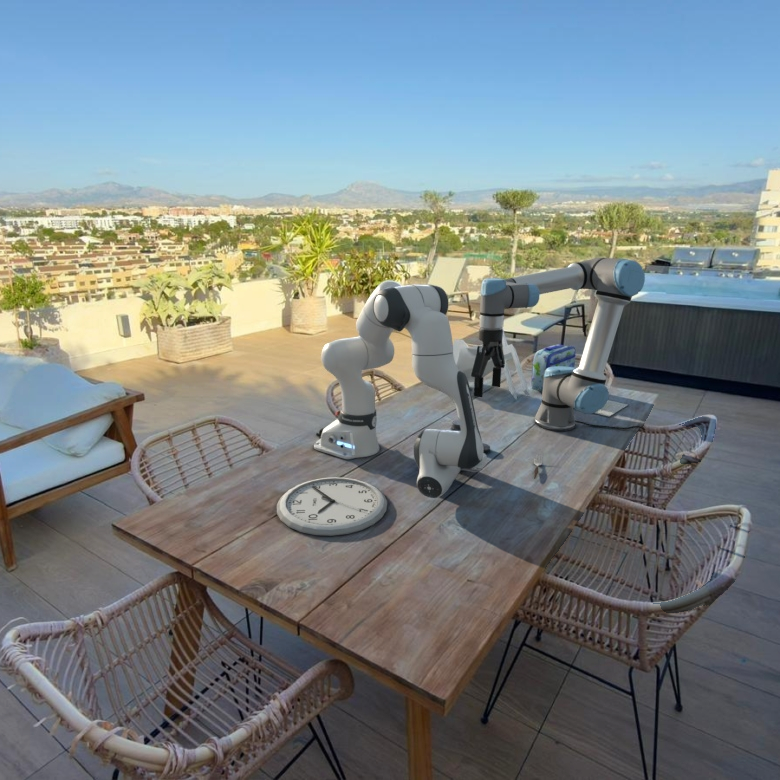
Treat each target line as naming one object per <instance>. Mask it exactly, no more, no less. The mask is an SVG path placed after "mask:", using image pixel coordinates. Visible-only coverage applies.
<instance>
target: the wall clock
mask: <svg viewBox="0 0 780 780" xmlns="http://www.w3.org/2000/svg"><path fill="white" fill-rule="evenodd" d="M387 509H388V500H387V498H386V496H385V494H384V493H383V492H382V491H381V490H380V489H379V488H377V487H376V486H374V485H372V484H371V483H369V482H365V481H362V480H359V479H355V478H349V477H338V476H337V477H335V476H333V477H332V476H331V477H322V478H317V479H312V480H307V481H305V482H302V483H299V484H297V485H295V486H293V487H292V488H290V489H288V490H287V491H286V492H285V493H284V494H283V495H281V496H280V498H279V499H278V502H277V503H276V515H277V517H278V518H279V520H280V521H281V522H282V523H283V524H285V525H286V526H287V527H288V528H290V529H293V530H295V531H297V532H299V533H303V534H308V535H312V536H327V537H328V536H329V537H331V536H332V537H333V536H342V535H350V534H352V533H356V532H361V531H363V530H366V529H368V528H369V527H372V526H373V525H375V524H376V523H378V522H379V521H380V520H381V519H382V518H383V517H384V516H385V514H386V512H387Z"/></svg>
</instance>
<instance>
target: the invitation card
mask: <svg viewBox="0 0 780 780" xmlns="http://www.w3.org/2000/svg"><path fill="white" fill-rule="evenodd" d="M628 406H629V404H627V403H623V402H618V401H614V400H609V399H608V400H607V402H606V404H605V405H604V407H603V408H602V409H600V410H598V411H597V412H595V413H594V414H596V415H600V416H604V417H608V418H609V417H611V416H613V415H614V414H616V413H617V412H619V411H621V410H623V409H624V408H626V407H628Z"/></svg>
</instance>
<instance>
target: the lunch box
mask: <svg viewBox="0 0 780 780" xmlns="http://www.w3.org/2000/svg"><path fill="white" fill-rule="evenodd" d="M576 357H577V355H576V347H575V346H569V345H565V344H554V345H550V346H547V347H544V348H542V349H541V348H540V349H539V350H537V351H536V352H535V353H534V356H533V360H532V367H531V368H532V369H531V382H530V383H531V386H530V387H531V389H532V390H533V391H537V392H542V391H543V381H544V374H545V370H546V369H547V368H549V367H556V366H565V367H574V368H575V364H576Z"/></svg>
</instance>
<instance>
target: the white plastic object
mask: <svg viewBox="0 0 780 780" xmlns="http://www.w3.org/2000/svg"><path fill="white" fill-rule="evenodd" d="M501 329H502V330H503V336H502V348H503V354H504V360H505V364H504V365H505V366H504V368H502V370H503V373H504V376H505V380H506V383H507V386H508V390H509V393H510V394H511V395H512V397H513V398H514V399H515V400H517V392H516V391H517V390H516V388H515V385H514V381H513V378H512V375H511V371H510V369H509V365H508V361H510V360H513V363H514V366H515V369H516V372H517V376H518V380H519V382H520V385H521V389H522V391H523V393H524V395H525V396H526V397H528V396H531V395H530V390H529V388H528V387H529V386H528V384H527V381H526V378H525V375H524V371H523V369H522V368H523V367H522V366H521V362H520V359H519V355H518V352H517V349H516V347H515V346H514V345H513V343H511V344H508V341H507V337H506V334H505V331H504V327H503V328H501ZM478 346H482V344H479V345H473V346H469V345H468V343H466V342H465V340H464V339H463V338H460V339H458V338H454V340H453V356H454V361H455V363H456V365H457V367H458V369H459V370H460V371H461V372H463V373H464V374H465V375H466V377H467V380H468V383H474V382H475V377H472V376H471V373H472V369H473V366H474V362H475V358H476V354H477V347H478ZM501 361H502V360H501ZM493 367H495V366H494V364H493V361H492V358H490V360H488V362H487V365H486V368H485V370H484V373H483V376H482V377H483V378H485V377H486V376H487V375H489V374H490V373H493Z"/></svg>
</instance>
